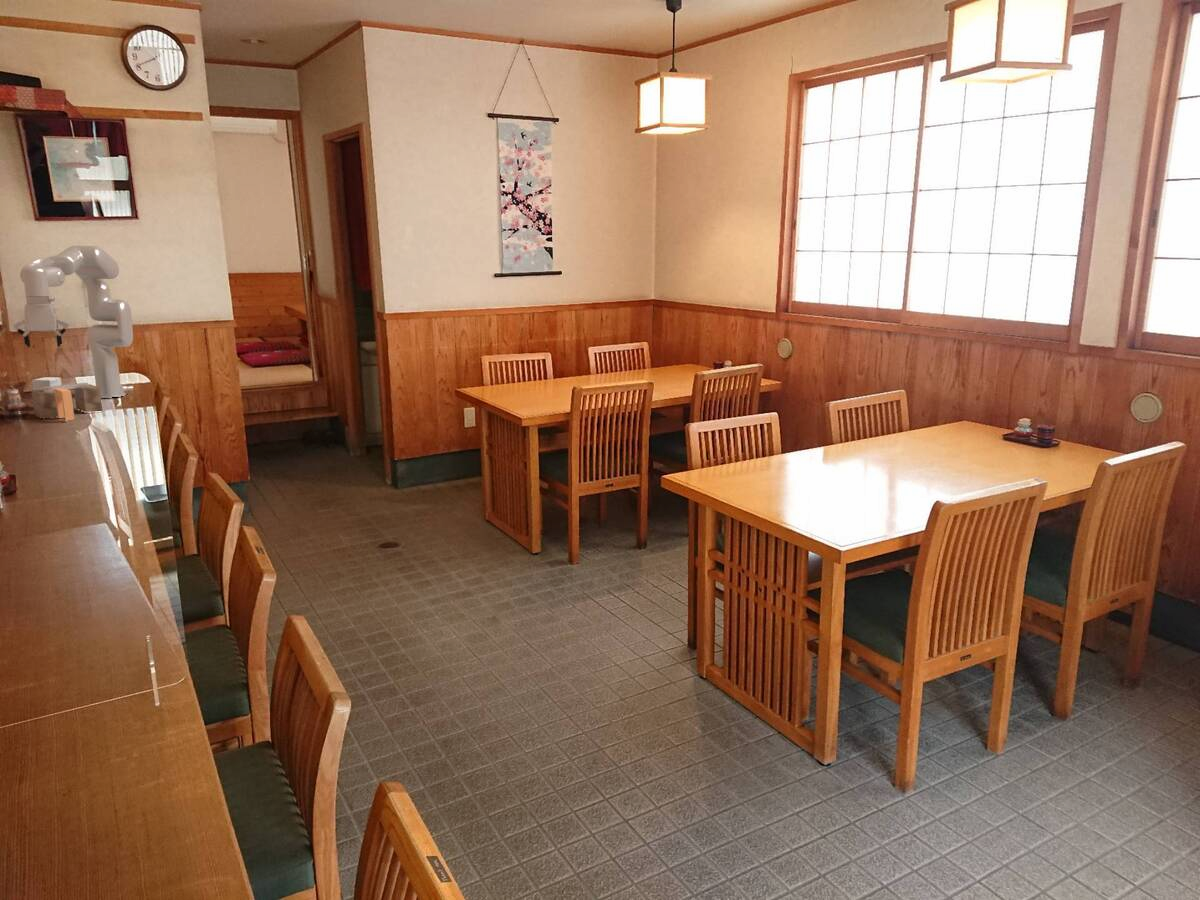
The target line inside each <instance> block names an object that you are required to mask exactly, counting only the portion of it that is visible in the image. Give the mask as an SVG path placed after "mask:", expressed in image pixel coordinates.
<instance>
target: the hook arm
mask: <svg viewBox="0 0 1200 900" xmlns="http://www.w3.org/2000/svg"><path fill="white" fill-rule="evenodd" d="M89 384H90V383H89V382H80V383H68V384H62V385H58V386H48V387H42V391H43V392H46V391H54V389H55V388H65V389H68V390H74V388H83V387H89Z"/></svg>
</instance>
